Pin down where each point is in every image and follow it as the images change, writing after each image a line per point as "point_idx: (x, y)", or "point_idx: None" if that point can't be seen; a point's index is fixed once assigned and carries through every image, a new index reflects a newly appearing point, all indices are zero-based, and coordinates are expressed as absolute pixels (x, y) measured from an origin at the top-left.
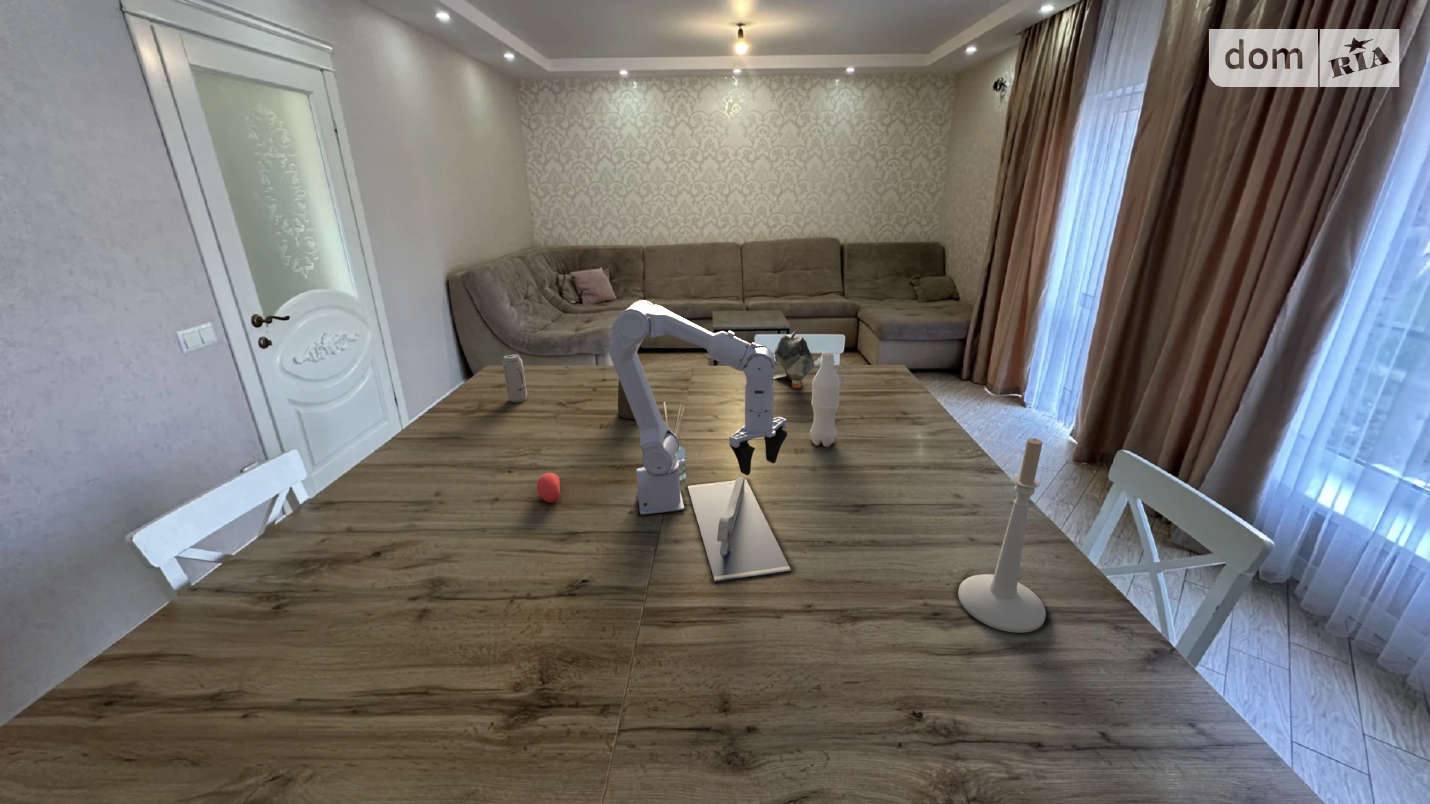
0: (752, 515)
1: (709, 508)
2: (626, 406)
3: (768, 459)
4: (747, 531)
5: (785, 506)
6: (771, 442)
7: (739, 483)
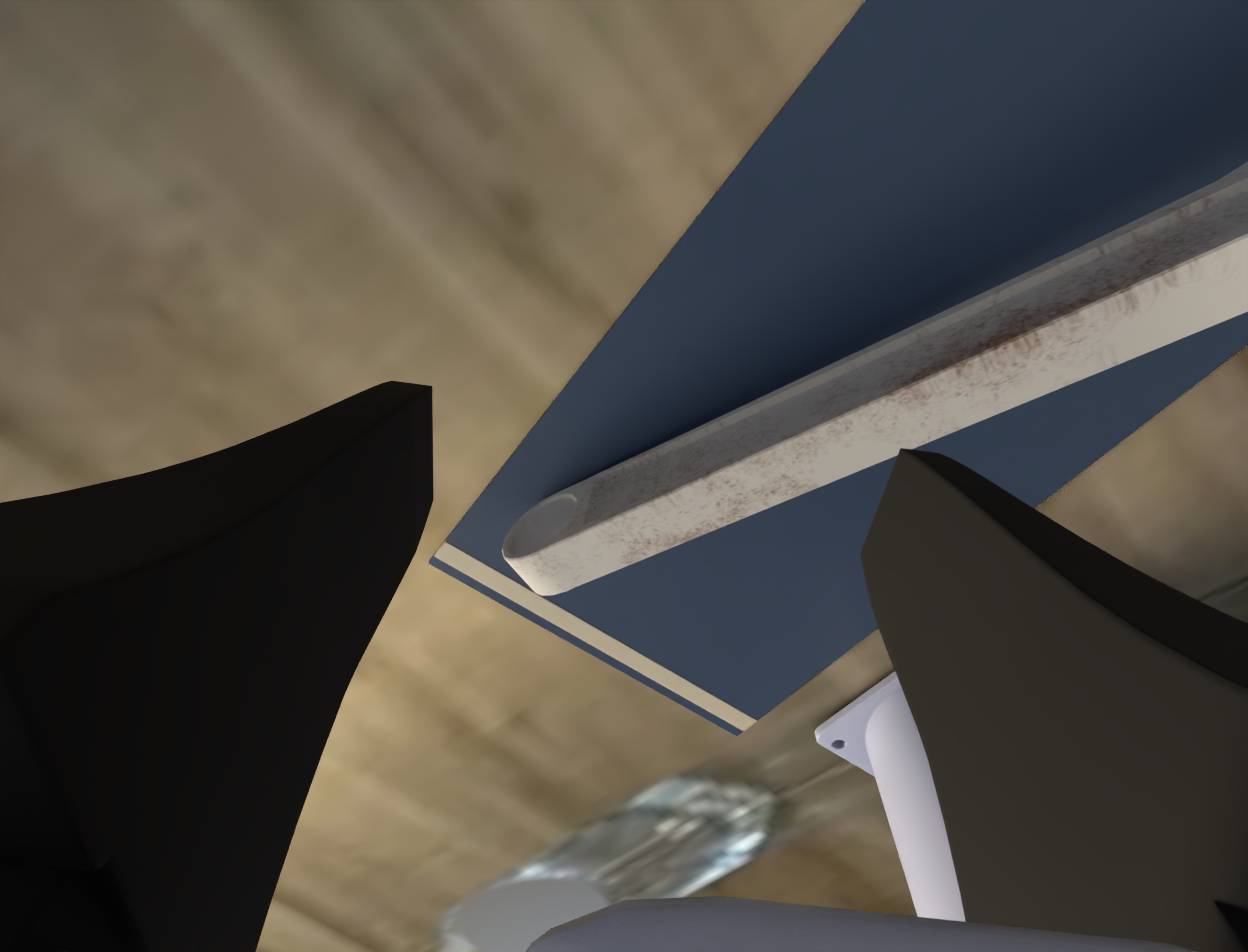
0: (797, 239)
1: None
2: None
3: (424, 485)
4: (1032, 118)
5: (489, 107)
6: (286, 661)
7: (630, 533)
